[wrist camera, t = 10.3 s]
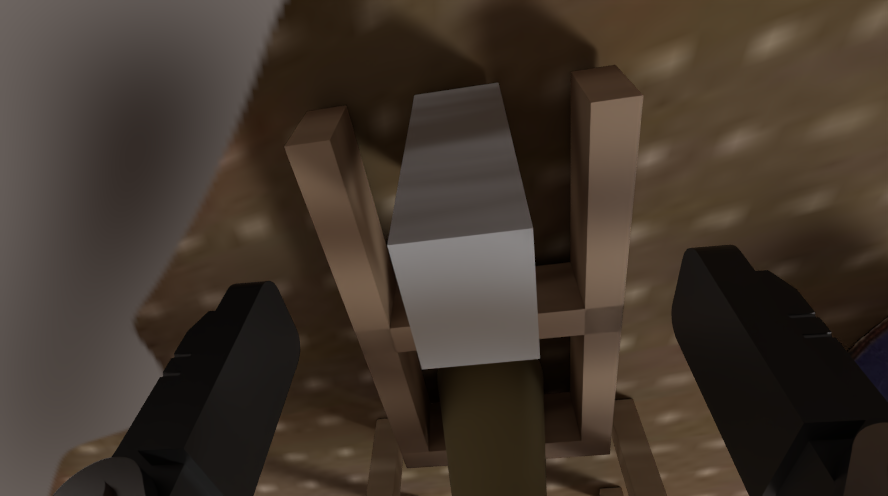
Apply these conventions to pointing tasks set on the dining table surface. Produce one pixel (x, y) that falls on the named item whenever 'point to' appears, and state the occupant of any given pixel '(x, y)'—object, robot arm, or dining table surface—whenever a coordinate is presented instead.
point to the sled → (479, 253)
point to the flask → (874, 356)
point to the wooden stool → (637, 476)
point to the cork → (494, 428)
